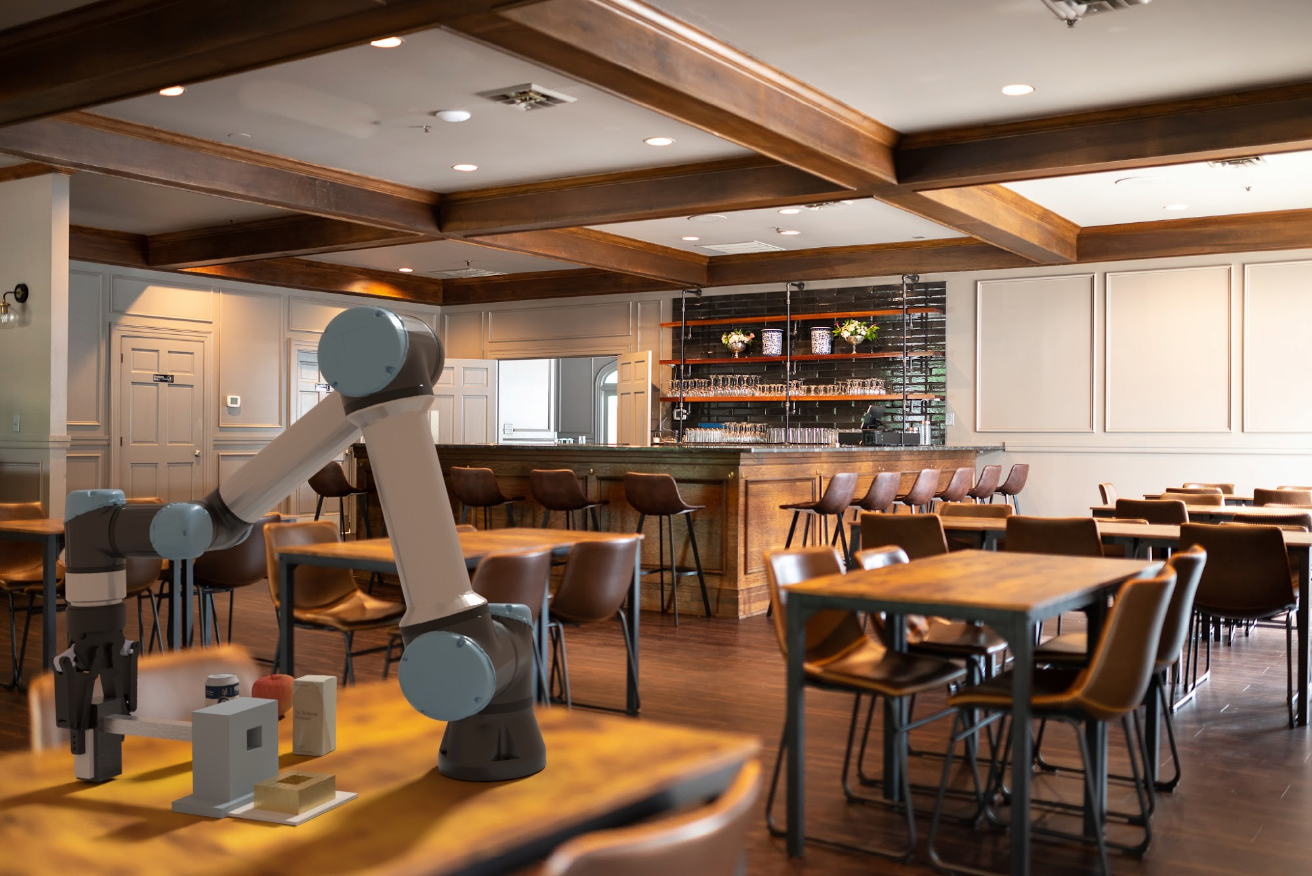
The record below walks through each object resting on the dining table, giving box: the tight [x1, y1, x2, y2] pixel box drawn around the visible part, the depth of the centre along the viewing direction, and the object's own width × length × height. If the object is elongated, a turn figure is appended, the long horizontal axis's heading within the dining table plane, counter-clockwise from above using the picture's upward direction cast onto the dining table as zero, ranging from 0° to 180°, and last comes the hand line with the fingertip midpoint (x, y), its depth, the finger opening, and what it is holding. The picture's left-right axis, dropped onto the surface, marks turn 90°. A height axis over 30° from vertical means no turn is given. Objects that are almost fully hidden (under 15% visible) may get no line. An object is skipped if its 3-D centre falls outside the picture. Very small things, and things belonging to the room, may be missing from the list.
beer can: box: [204, 672, 240, 708], centre depth 170 cm, size 5×5×12 cm
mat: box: [227, 790, 359, 826], centre depth 147 cm, size 11×12×1 cm
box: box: [291, 674, 338, 757], centre depth 173 cm, size 5×4×11 cm
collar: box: [254, 769, 337, 815], centre depth 147 cm, size 3×7×7 cm
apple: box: [250, 670, 296, 718], centre depth 195 cm, size 7×7×8 cm
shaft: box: [75, 695, 192, 783], centre depth 156 cm, size 24×4×10 cm, turn 68°
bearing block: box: [171, 696, 280, 819], centre depth 150 cm, size 8×14×12 cm, turn 158°
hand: (98, 772), depth 159 cm, fingers closed on shaft, 4 cm apart
